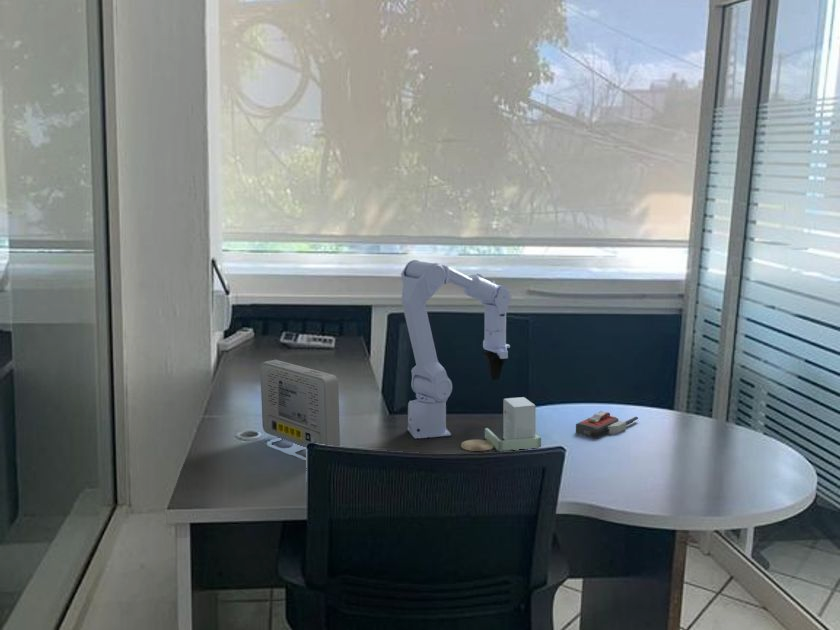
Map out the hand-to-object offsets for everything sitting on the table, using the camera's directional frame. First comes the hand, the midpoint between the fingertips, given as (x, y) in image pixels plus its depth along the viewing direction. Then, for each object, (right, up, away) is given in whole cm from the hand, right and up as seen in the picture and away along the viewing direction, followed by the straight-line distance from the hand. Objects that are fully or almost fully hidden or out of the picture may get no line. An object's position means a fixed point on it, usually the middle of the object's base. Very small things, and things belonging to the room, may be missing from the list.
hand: (494, 379), depth 232 cm
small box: (+4, -14, -20) cm, 25 cm away
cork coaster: (-6, -15, -22) cm, 27 cm away
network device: (-49, -15, -22) cm, 56 cm away
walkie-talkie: (+28, -13, -9) cm, 32 cm away
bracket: (+2, -14, -19) cm, 24 cm away
